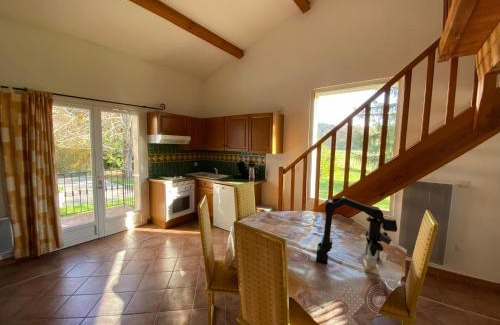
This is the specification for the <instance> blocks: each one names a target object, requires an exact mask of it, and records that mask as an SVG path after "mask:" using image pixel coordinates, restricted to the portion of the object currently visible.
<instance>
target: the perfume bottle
mask: <svg viewBox="0 0 500 325" xmlns="http://www.w3.org/2000/svg"><path fill="white" fill-rule="evenodd" d="M367 250H368V242H367V241H366V244H365V253H366V255H368V254H367ZM380 252H381V251H378V256H377V258H376V259H379V258H380Z"/></svg>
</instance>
